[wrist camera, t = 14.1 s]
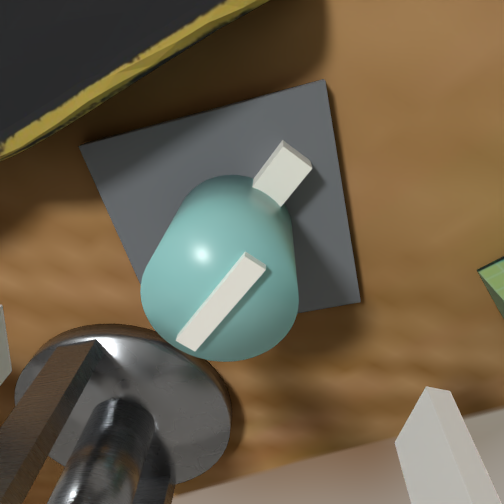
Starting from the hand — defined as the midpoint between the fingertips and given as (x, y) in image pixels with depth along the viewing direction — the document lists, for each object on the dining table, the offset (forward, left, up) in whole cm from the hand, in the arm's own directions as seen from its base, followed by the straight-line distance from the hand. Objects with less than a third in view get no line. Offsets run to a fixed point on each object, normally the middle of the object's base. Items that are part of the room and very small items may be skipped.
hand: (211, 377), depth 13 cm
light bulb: (0, 0, -12) cm, 12 cm away
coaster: (0, 0, -12) cm, 12 cm away
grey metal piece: (+13, -12, -12) cm, 22 cm away
